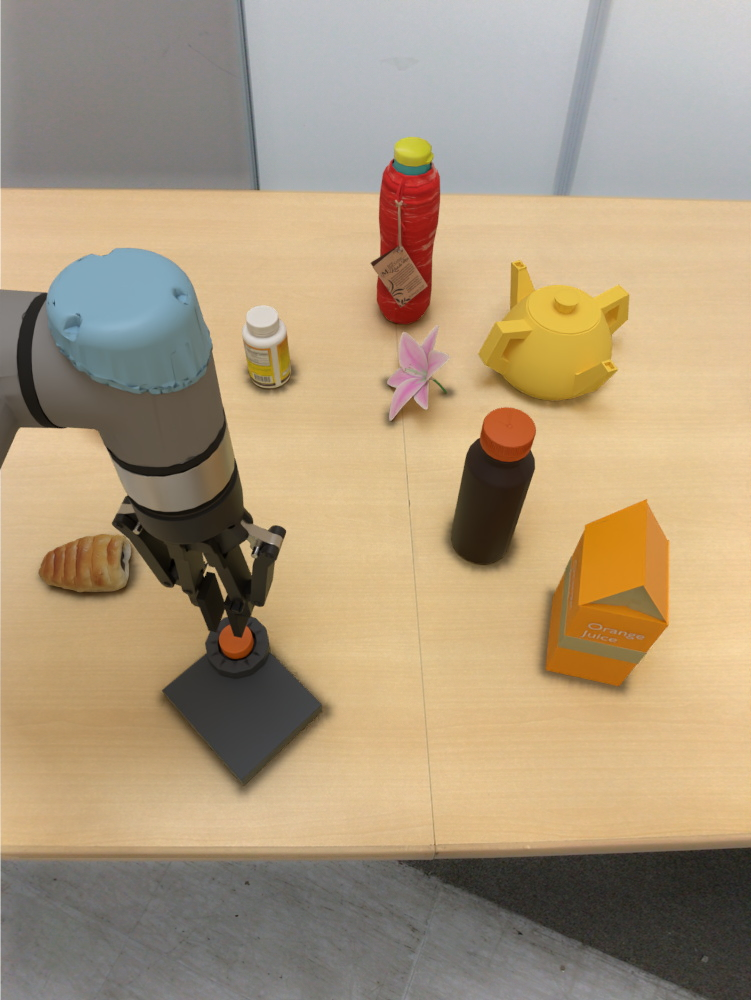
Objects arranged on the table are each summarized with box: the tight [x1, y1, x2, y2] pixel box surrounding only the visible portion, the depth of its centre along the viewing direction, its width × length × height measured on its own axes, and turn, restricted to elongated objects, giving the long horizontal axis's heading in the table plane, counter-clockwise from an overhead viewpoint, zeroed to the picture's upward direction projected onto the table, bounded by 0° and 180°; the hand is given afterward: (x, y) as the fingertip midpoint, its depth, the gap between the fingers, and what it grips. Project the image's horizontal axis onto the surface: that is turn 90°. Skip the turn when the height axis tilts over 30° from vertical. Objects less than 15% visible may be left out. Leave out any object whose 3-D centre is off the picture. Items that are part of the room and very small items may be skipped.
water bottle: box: [370, 136, 441, 325], centre depth 95 cm, size 12×8×25 cm, turn 161°
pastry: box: [37, 533, 132, 593], centre depth 80 cm, size 9×7×4 cm
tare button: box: [219, 625, 254, 659], centre depth 73 cm, size 3×3×2 cm
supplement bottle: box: [241, 304, 292, 389], centre depth 94 cm, size 6×6×10 cm
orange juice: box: [544, 498, 670, 687], centre depth 70 cm, size 8×9×20 cm
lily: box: [386, 324, 451, 422], centre depth 94 cm, size 12×12×10 cm
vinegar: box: [450, 406, 537, 565], centre depth 76 cm, size 7×7×20 cm
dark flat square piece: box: [161, 616, 323, 786], centre depth 72 cm, size 13×11×4 cm
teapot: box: [477, 259, 630, 402], centre depth 95 cm, size 17×17×12 cm
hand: (229, 621), depth 69 cm, fingers closed
